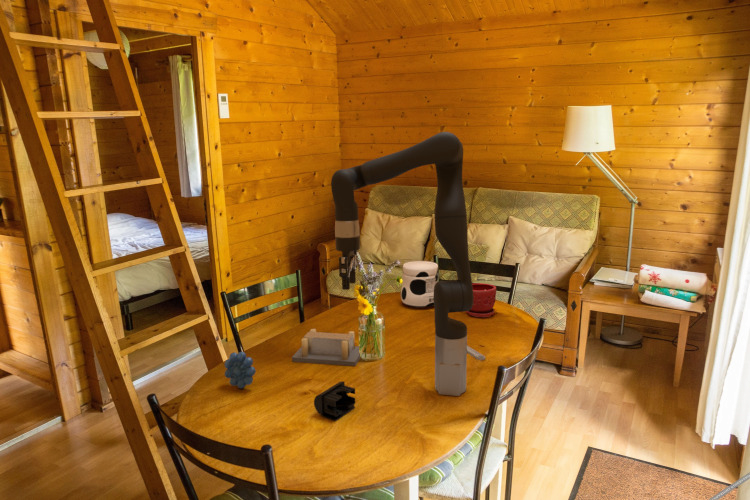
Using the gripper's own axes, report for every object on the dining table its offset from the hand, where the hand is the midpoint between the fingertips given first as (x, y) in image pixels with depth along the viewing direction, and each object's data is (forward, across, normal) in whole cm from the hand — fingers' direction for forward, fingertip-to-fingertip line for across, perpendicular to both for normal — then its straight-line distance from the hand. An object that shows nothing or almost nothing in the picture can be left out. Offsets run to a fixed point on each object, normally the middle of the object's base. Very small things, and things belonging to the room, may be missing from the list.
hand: (349, 286), depth 172 cm
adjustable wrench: (+28, +25, -34) cm, 51 cm away
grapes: (+29, -15, +31) cm, 45 cm away
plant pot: (+27, +62, -40) cm, 79 cm away
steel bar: (+26, +11, +11) cm, 31 cm away
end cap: (+30, -25, -1) cm, 39 cm away
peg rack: (+28, +12, +11) cm, 32 cm away
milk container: (+26, +72, -15) cm, 78 cm away
